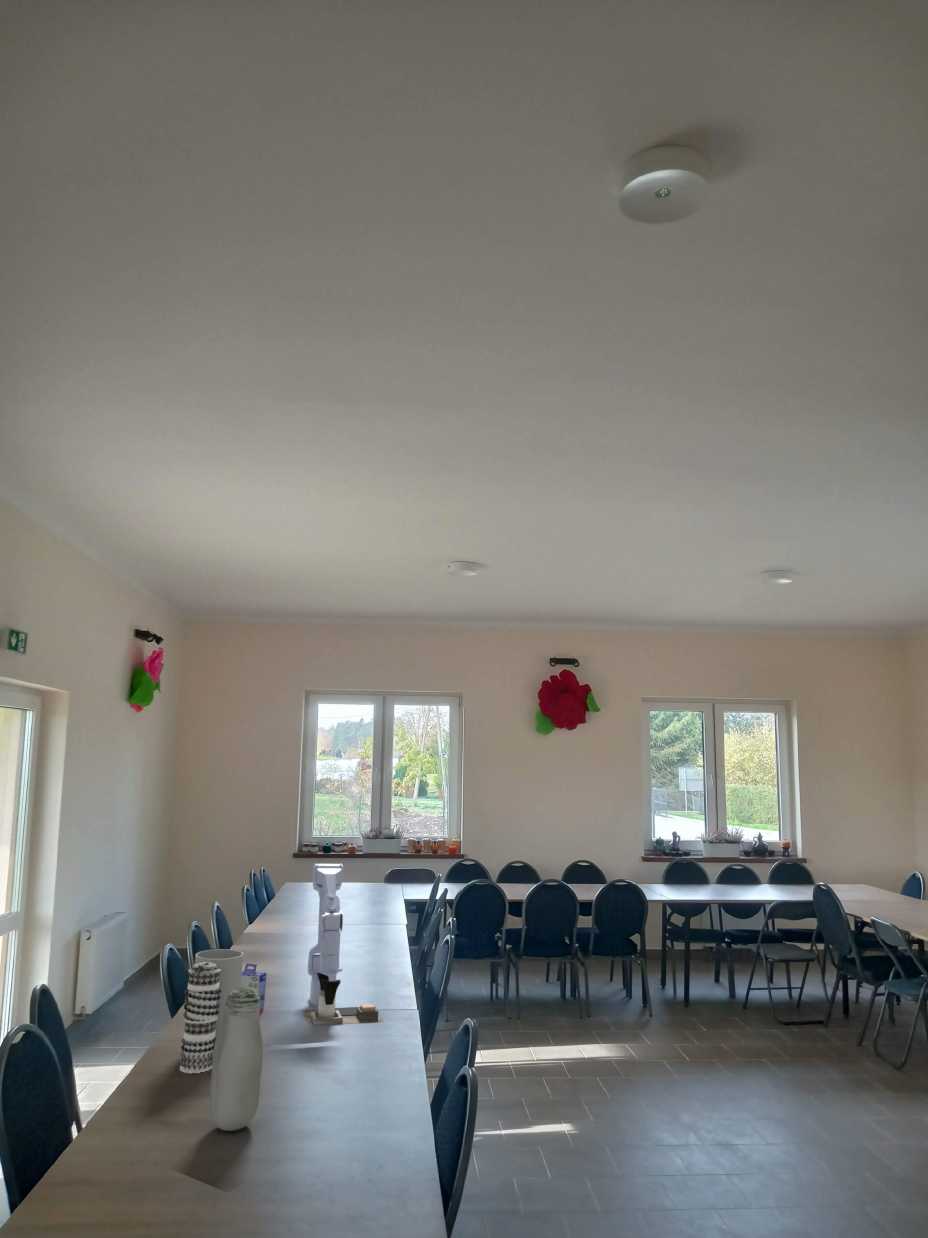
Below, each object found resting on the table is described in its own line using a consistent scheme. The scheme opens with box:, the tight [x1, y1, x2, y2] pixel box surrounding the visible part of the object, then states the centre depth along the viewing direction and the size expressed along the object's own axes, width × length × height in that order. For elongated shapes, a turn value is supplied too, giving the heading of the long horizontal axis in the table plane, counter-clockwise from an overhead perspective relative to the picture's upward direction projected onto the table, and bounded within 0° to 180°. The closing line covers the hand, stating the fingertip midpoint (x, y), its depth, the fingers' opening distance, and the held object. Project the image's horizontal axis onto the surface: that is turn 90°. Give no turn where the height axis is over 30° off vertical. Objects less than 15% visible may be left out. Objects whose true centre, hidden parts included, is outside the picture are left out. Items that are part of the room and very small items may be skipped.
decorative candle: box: [179, 962, 221, 1075], centre depth 218 cm, size 9×9×25 cm
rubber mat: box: [335, 1006, 358, 1016], centre depth 265 cm, size 8×8×1 cm
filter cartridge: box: [317, 990, 337, 1018], centre depth 257 cm, size 5×5×8 cm
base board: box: [302, 1005, 384, 1027], centre depth 261 cm, size 16×22×4 cm
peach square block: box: [360, 1003, 376, 1011], centre depth 260 cm, size 4×4×3 cm
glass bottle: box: [209, 987, 264, 1132], centre depth 184 cm, size 10×10×28 cm
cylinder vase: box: [194, 948, 244, 1043], centre depth 230 cm, size 12×12×25 cm
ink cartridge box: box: [241, 963, 267, 1014], centre depth 264 cm, size 10×6×14 cm, turn 78°
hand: (327, 1001), depth 257 cm, fingers open, 7 cm apart
